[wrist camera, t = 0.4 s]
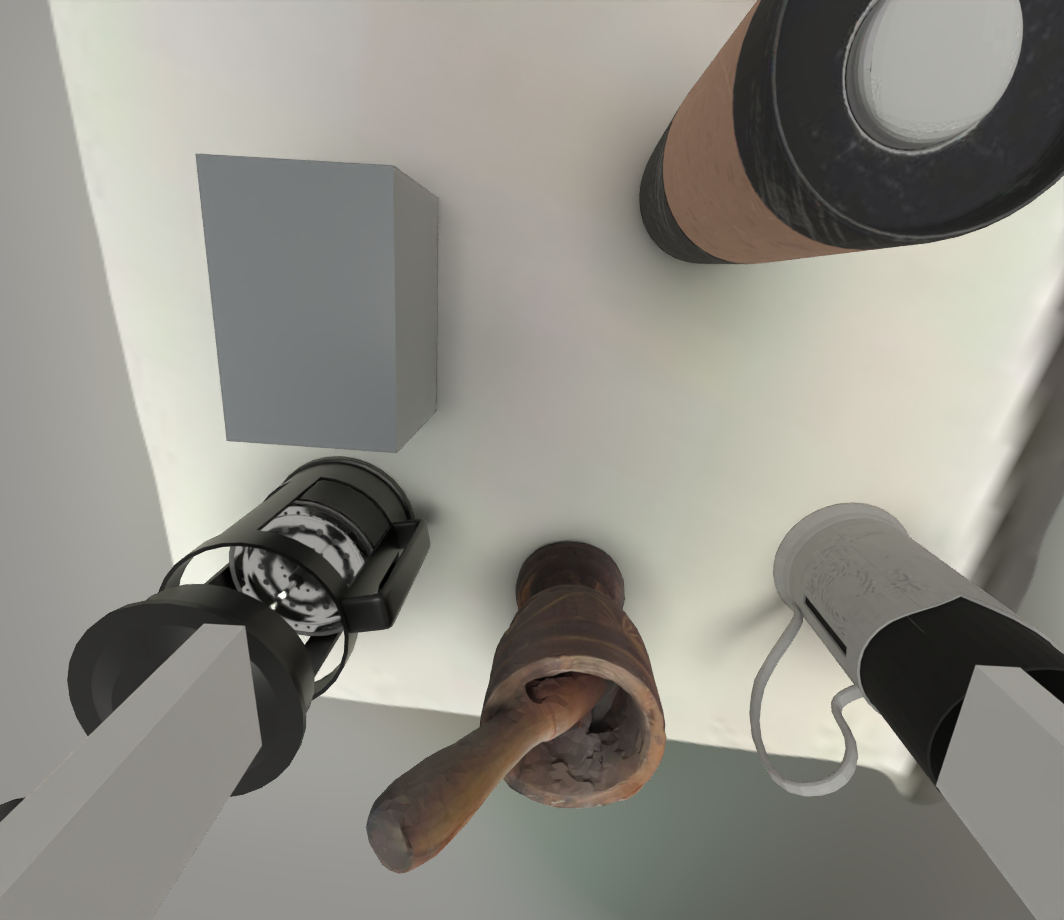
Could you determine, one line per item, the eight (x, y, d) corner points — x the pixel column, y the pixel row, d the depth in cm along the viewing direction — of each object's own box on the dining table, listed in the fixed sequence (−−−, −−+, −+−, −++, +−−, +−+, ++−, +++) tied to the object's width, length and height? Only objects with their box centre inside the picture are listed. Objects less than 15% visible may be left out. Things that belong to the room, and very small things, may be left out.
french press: (288, 594, 39) (-55, 995, 17) (247, 467, 36) (-224, 751, 14) (452, 575, 38) (313, 974, 16) (424, 443, 35) (209, 707, 13)
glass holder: (931, 587, 37) (1168, 780, 23) (731, 674, 40) (830, 897, 25) (883, 478, 35) (1111, 616, 20) (675, 578, 37) (749, 762, 23)
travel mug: (746, 284, 32) (1035, 287, 13) (616, 248, 31) (709, 196, 12) (799, 135, 29) (1252, -136, 10) (659, 95, 29) (858, -260, 10)
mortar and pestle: (472, 652, 40) (397, 991, 21) (449, 543, 37) (338, 816, 18) (635, 635, 39) (713, 974, 20) (622, 522, 36) (697, 786, 17)
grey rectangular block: (294, 189, 31) (195, 153, 22) (438, 197, 31) (393, 165, 22) (307, 401, 35) (226, 440, 26) (436, 410, 35) (397, 452, 26)
